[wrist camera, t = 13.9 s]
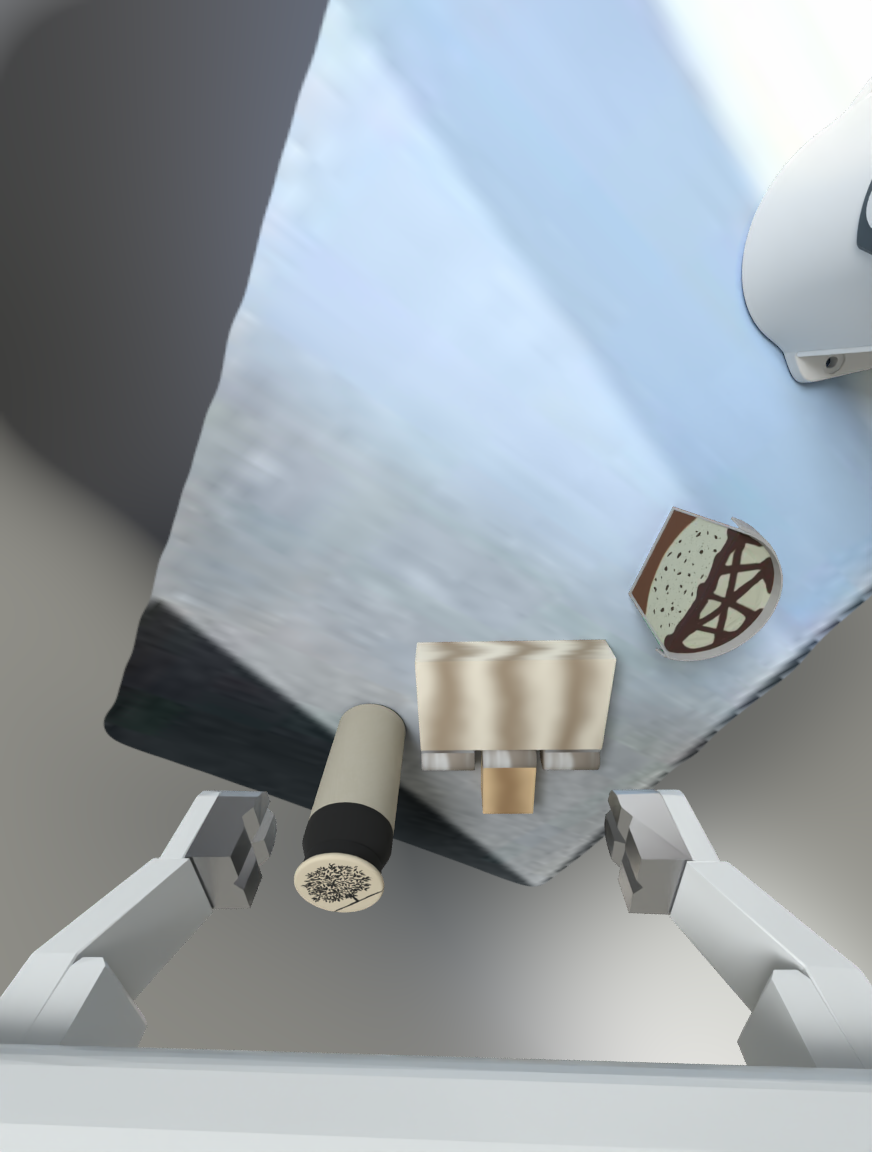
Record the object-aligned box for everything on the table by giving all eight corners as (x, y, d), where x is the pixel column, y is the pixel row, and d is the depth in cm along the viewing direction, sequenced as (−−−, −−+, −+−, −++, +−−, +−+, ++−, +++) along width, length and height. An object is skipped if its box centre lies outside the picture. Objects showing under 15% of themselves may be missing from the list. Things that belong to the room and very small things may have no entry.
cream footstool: (605, 639, 47) (616, 659, 44) (588, 752, 53) (597, 776, 50) (417, 642, 48) (414, 662, 44) (424, 753, 54) (422, 777, 51)
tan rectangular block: (532, 729, 52) (537, 752, 49) (528, 788, 56) (532, 814, 53) (481, 729, 53) (483, 753, 49) (481, 789, 57) (483, 814, 53)
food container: (677, 620, 46) (734, 681, 37) (621, 605, 45) (665, 664, 36) (741, 508, 41) (826, 547, 32) (680, 491, 40) (749, 525, 31)
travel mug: (326, 716, 52) (270, 872, 36) (384, 692, 50) (353, 844, 34) (361, 760, 55) (325, 923, 39) (417, 739, 53) (403, 900, 37)
